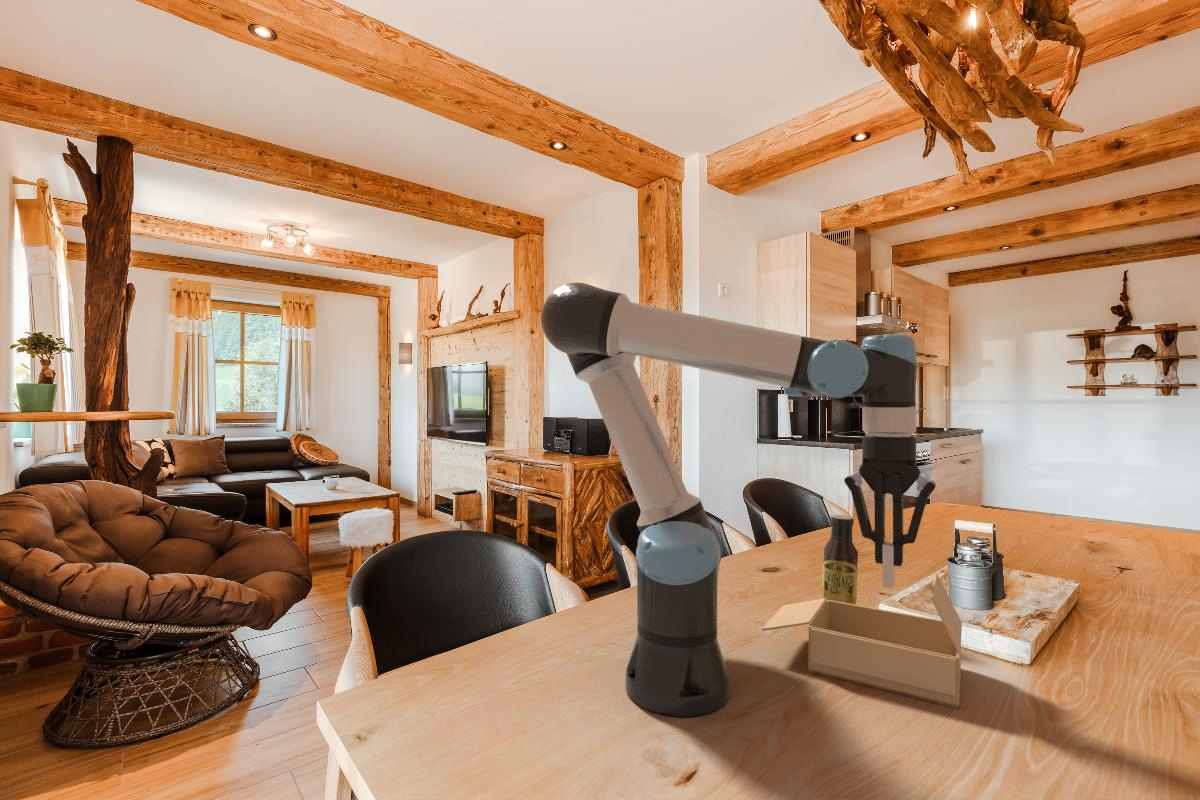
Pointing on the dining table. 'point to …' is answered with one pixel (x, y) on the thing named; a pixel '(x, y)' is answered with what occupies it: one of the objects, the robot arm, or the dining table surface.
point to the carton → (886, 651)
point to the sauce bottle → (840, 562)
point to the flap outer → (947, 612)
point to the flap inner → (795, 614)
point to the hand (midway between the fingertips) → (888, 584)
